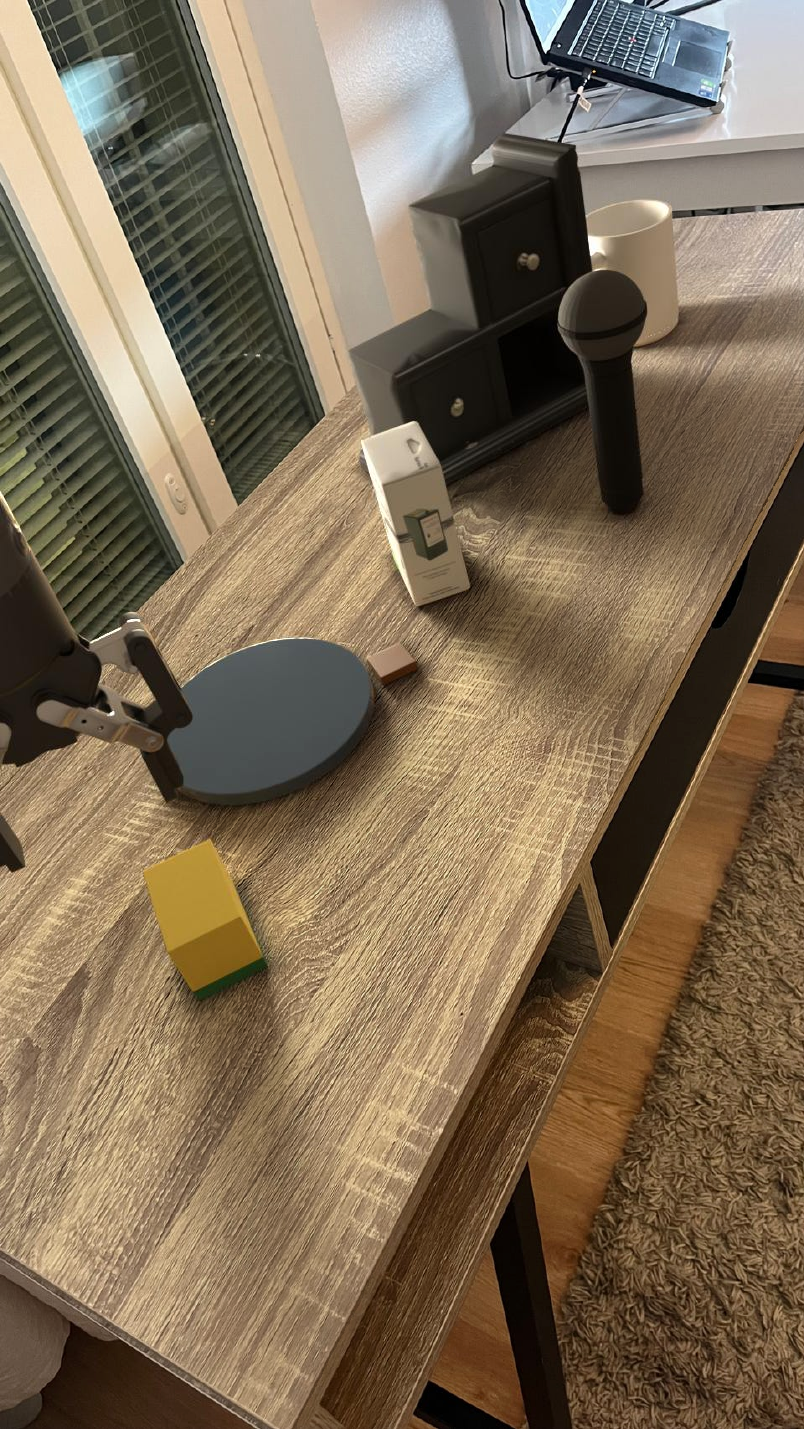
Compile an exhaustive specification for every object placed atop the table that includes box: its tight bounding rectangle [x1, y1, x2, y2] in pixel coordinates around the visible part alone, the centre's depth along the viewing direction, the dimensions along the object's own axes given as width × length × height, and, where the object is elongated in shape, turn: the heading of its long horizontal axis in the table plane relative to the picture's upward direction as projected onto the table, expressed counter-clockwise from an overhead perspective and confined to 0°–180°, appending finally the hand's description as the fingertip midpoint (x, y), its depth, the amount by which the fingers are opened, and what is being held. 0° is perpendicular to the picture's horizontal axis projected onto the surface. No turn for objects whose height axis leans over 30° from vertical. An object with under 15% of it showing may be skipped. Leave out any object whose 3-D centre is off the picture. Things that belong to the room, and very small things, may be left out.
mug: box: [585, 198, 680, 348], centre depth 110 cm, size 10×12×12 cm
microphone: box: [557, 270, 648, 516], centre depth 84 cm, size 7×7×20 cm
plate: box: [167, 637, 376, 806], centre depth 81 cm, size 17×17×1 cm
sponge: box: [142, 839, 269, 1001], centre depth 65 cm, size 4×7×5 cm, turn 23°
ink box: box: [360, 421, 471, 607], centre depth 87 cm, size 9×5×12 cm, turn 14°
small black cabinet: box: [346, 132, 593, 486], centre depth 98 cm, size 23×11×24 cm, turn 122°
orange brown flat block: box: [366, 641, 419, 686], centre depth 82 cm, size 3×3×1 cm
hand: (94, 825), depth 57 cm, fingers open, 8 cm apart
